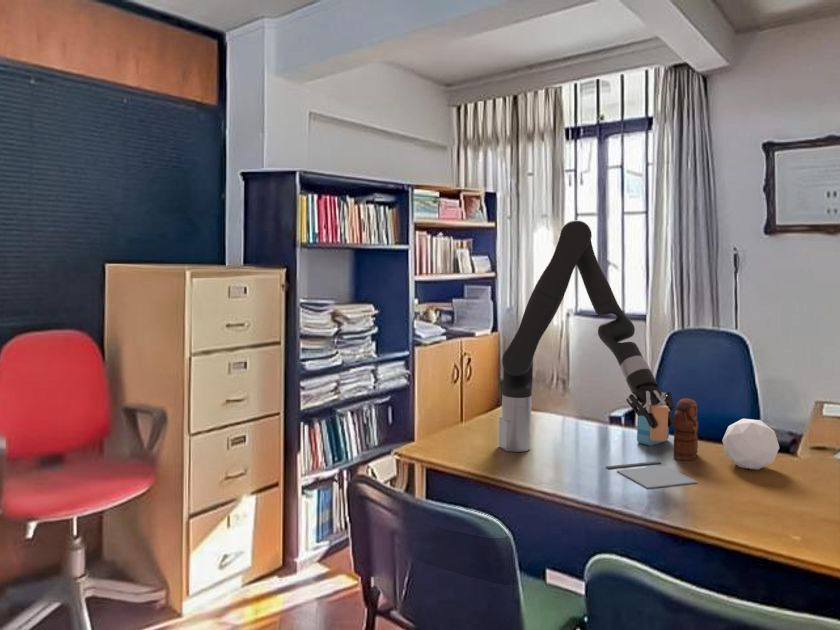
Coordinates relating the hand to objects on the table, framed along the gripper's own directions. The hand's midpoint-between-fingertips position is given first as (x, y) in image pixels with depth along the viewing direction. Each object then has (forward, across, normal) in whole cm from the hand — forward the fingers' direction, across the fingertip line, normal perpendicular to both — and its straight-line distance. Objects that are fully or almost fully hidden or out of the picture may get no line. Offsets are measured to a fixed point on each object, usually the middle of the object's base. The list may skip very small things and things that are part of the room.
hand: (663, 426), depth 182 cm
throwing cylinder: (+2, 0, +4) cm, 5 cm away
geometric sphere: (+10, +32, +12) cm, 35 cm away
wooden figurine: (0, +21, +22) cm, 30 cm away
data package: (-12, +21, +34) cm, 41 cm away
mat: (+8, 0, +13) cm, 16 cm away
